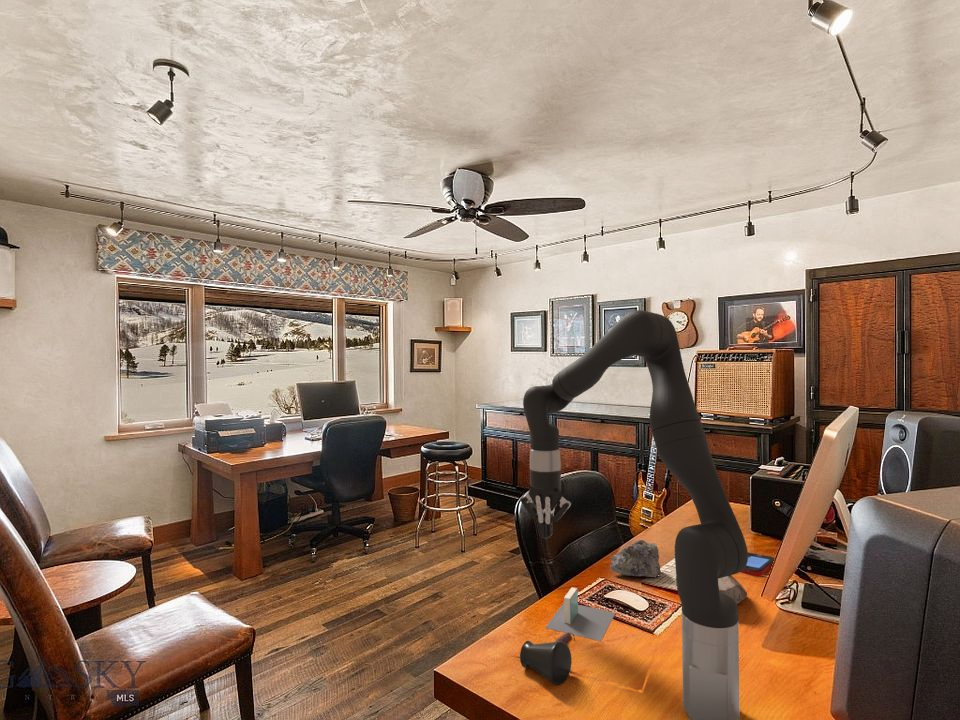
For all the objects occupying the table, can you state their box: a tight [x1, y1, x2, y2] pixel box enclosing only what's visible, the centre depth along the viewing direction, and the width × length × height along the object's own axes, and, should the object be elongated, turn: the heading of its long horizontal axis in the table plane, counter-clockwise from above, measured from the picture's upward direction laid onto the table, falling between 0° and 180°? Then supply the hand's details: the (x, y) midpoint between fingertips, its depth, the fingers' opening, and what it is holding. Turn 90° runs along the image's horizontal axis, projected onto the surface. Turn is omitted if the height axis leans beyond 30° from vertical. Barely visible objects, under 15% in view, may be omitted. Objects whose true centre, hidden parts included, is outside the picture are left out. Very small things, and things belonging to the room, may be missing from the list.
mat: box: [545, 602, 616, 642], centre depth 124 cm, size 14×13×1 cm
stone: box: [718, 575, 748, 605], centre depth 132 cm, size 15×9×10 cm
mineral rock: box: [609, 539, 662, 578], centre depth 150 cm, size 13×11×10 cm
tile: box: [563, 586, 579, 624], centre depth 125 cm, size 6×2×6 cm, turn 152°
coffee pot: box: [519, 632, 576, 686], centre depth 108 cm, size 8×18×8 cm
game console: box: [740, 551, 776, 577], centre depth 156 cm, size 14×13×2 cm
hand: (546, 537), depth 127 cm, fingers closed
